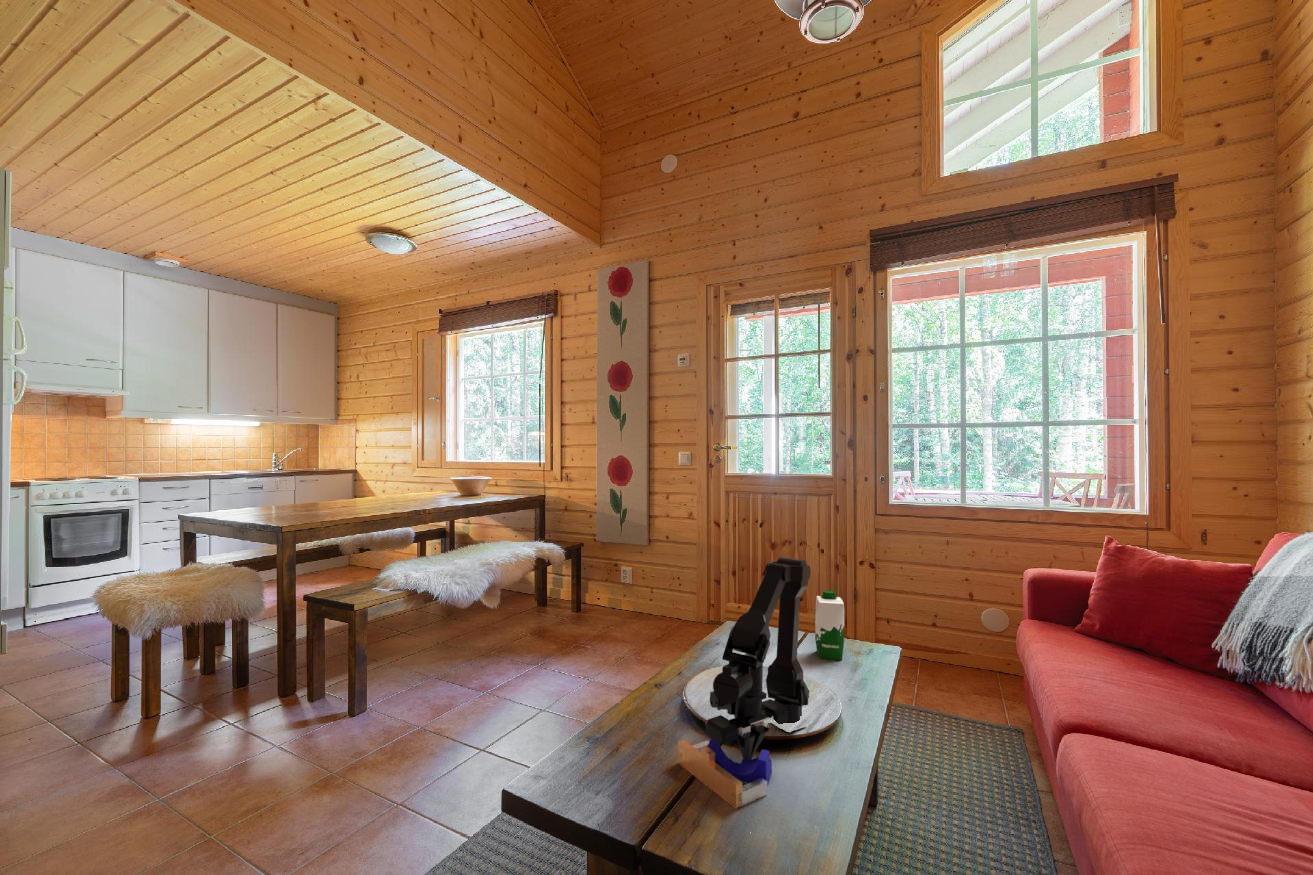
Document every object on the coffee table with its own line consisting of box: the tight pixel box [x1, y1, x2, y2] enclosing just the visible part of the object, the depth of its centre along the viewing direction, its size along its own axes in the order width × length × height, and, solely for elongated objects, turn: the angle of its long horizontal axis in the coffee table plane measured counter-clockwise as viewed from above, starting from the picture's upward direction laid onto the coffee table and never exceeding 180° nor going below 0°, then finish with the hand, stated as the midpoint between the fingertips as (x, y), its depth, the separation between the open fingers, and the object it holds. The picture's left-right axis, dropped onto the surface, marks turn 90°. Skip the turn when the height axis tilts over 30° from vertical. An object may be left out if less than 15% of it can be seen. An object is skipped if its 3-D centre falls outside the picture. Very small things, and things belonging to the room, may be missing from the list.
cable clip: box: [707, 737, 773, 787], centre depth 115 cm, size 12×4×6 cm, turn 66°
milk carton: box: [814, 589, 845, 661], centre depth 183 cm, size 9×9×20 cm
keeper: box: [677, 739, 768, 810], centre depth 114 cm, size 8×18×6 cm, turn 34°
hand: (746, 761), depth 118 cm, fingers closed
